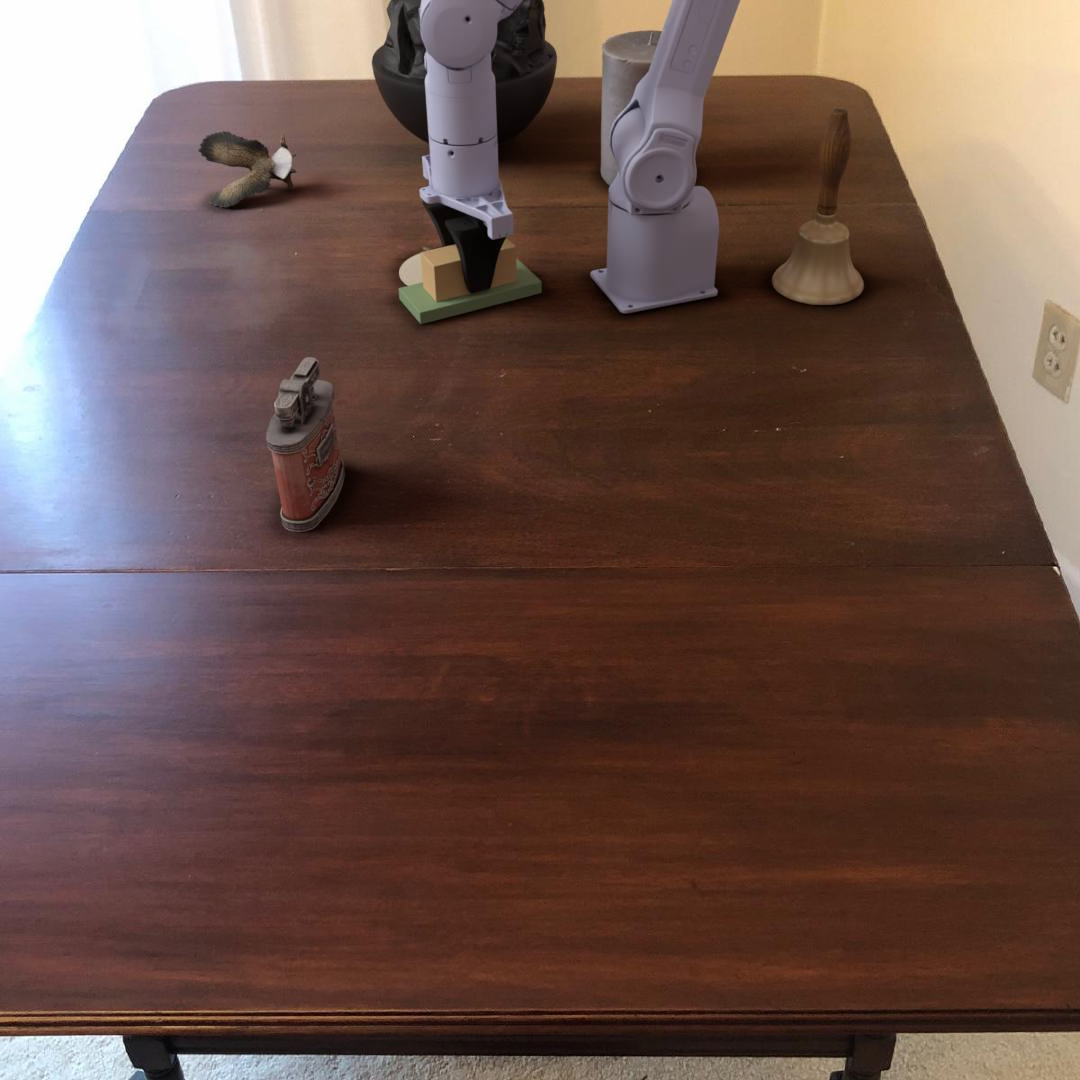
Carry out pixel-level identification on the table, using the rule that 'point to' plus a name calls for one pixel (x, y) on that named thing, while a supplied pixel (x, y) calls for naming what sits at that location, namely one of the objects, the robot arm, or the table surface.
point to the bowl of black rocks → (515, 64)
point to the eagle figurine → (246, 165)
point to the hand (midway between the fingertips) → (470, 280)
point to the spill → (411, 271)
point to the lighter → (305, 448)
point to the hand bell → (824, 233)
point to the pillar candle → (622, 83)
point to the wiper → (448, 290)
